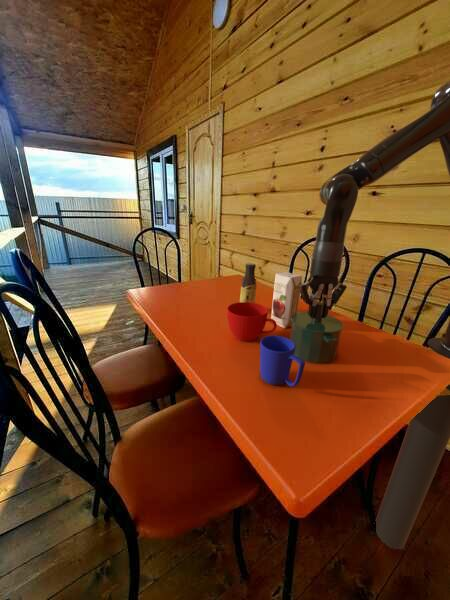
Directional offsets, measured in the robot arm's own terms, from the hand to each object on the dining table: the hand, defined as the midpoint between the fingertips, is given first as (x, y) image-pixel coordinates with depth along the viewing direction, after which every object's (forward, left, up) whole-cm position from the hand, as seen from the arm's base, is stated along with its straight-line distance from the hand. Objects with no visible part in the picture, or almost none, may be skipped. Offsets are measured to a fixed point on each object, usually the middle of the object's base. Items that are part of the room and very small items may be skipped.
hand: (317, 316), depth 74 cm
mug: (+15, +14, -11) cm, 23 cm away
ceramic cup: (+17, -9, -11) cm, 22 cm away
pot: (0, 0, -11) cm, 11 cm away
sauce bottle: (+13, -34, -11) cm, 38 cm away
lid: (0, 0, -2) cm, 2 cm away
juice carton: (+2, -20, -11) cm, 23 cm away
